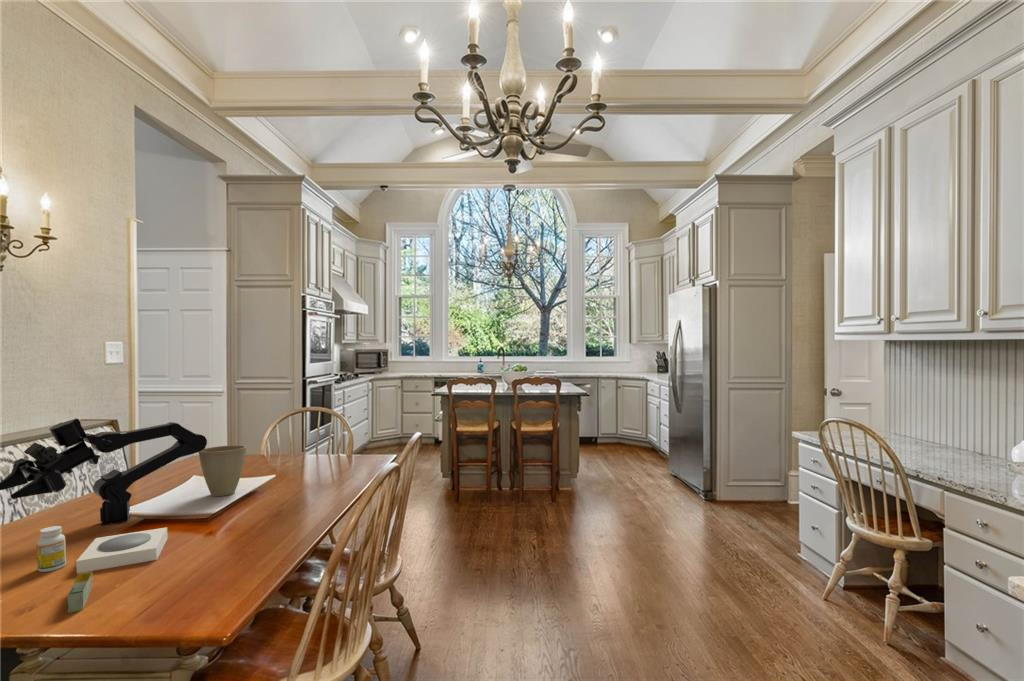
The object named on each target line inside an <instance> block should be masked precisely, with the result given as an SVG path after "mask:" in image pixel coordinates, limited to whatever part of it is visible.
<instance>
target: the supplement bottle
mask: <svg viewBox="0 0 1024 681" xmlns="http://www.w3.org/2000/svg"><path fill="white" fill-rule="evenodd" d="M62 529H63V528H62V526H61V525H53V526H48V527H44V528H42V529H40V530H39V536H40V538H39V539H38V540H37V541H36V559H37V560H36V561H37V571H39V572H40V573H46V572H52V571H56V570H59V569H61V568H63V567H64V566H66V565H67V551H66V550H67V547H66V536H65V535H64V534H62V531H63V530H62Z"/></svg>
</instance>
